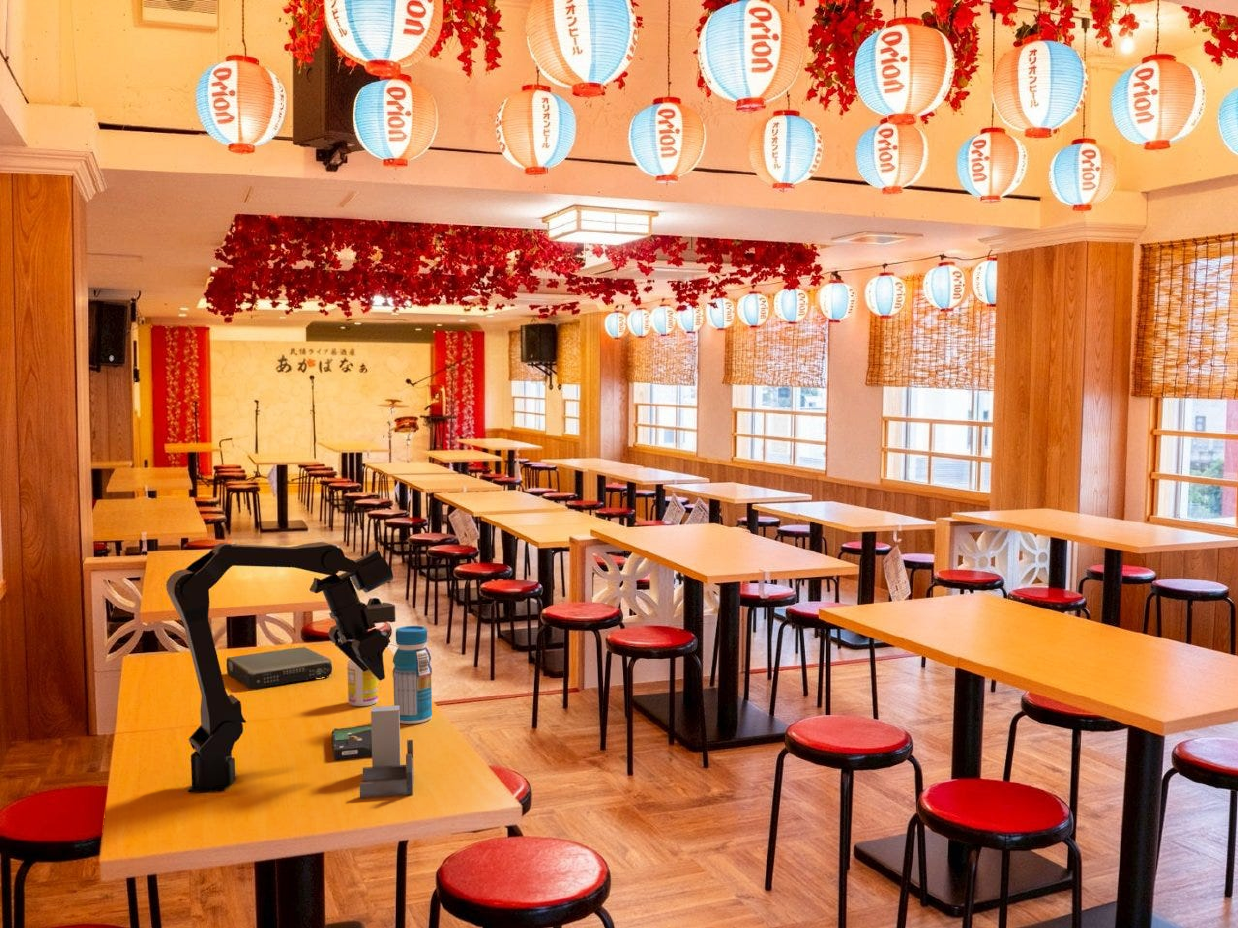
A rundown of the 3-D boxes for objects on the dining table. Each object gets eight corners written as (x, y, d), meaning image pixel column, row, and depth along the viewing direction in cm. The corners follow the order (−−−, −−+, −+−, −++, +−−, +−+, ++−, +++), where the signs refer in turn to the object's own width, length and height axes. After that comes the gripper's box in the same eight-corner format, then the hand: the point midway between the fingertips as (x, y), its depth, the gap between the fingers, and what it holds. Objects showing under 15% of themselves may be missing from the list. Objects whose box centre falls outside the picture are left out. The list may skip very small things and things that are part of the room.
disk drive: (389, 758, 207) (381, 735, 221) (389, 743, 207) (381, 722, 221) (334, 764, 204) (330, 740, 218) (334, 749, 204) (330, 727, 218)
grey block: (372, 777, 194) (370, 712, 194) (373, 768, 199) (372, 705, 199) (400, 775, 195) (398, 711, 195) (400, 766, 200) (399, 703, 200)
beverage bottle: (393, 726, 226) (391, 633, 225) (393, 715, 234) (391, 625, 233) (433, 723, 228) (431, 631, 227) (432, 712, 236) (430, 623, 235)
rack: (359, 798, 184) (358, 758, 183) (363, 780, 192) (362, 742, 192) (413, 794, 185) (412, 755, 185) (414, 777, 194) (413, 739, 194)
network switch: (302, 662, 288) (301, 643, 288) (343, 677, 271) (343, 657, 271) (216, 677, 273) (216, 658, 272) (255, 694, 255) (254, 674, 255)
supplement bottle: (382, 699, 248) (380, 645, 247) (372, 707, 241) (371, 651, 240) (354, 699, 248) (352, 644, 248) (344, 706, 242) (342, 651, 241)
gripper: (399, 590, 200) (428, 663, 203) (365, 579, 215) (393, 647, 219) (345, 617, 194) (376, 692, 198) (315, 604, 210) (344, 673, 213)
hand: (374, 674), depth 207 cm, fingers open, 9 cm apart
